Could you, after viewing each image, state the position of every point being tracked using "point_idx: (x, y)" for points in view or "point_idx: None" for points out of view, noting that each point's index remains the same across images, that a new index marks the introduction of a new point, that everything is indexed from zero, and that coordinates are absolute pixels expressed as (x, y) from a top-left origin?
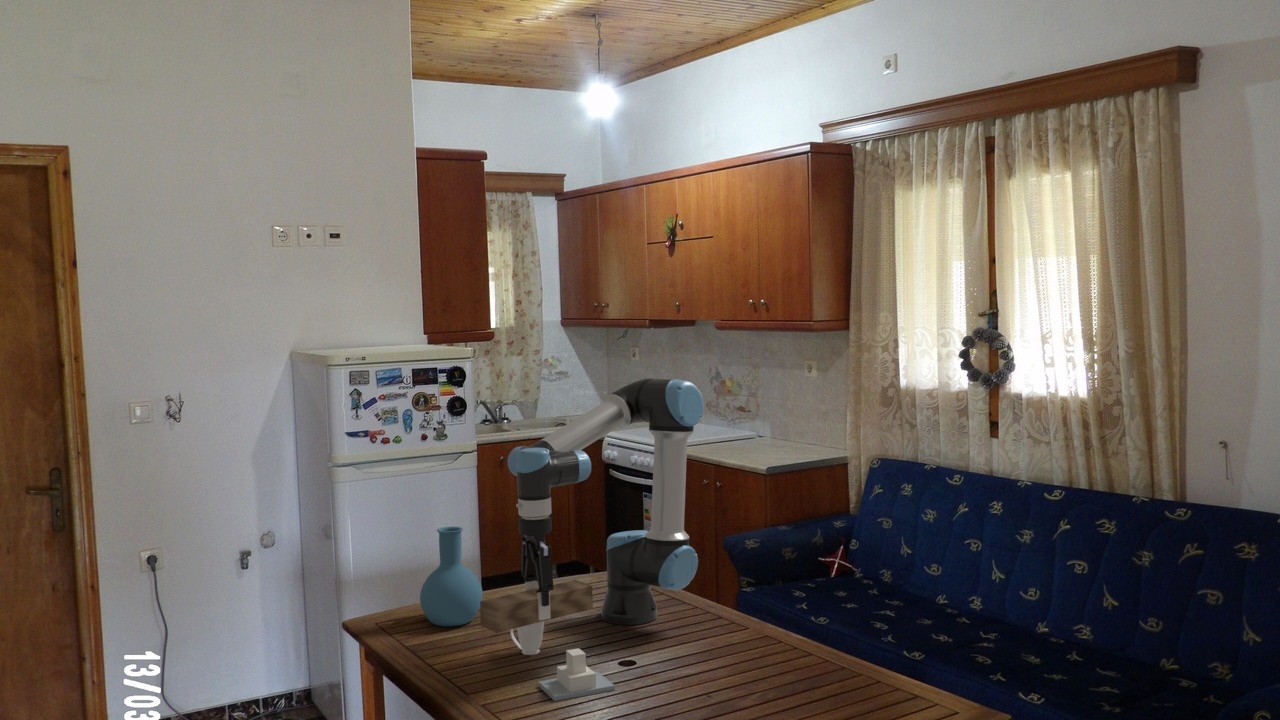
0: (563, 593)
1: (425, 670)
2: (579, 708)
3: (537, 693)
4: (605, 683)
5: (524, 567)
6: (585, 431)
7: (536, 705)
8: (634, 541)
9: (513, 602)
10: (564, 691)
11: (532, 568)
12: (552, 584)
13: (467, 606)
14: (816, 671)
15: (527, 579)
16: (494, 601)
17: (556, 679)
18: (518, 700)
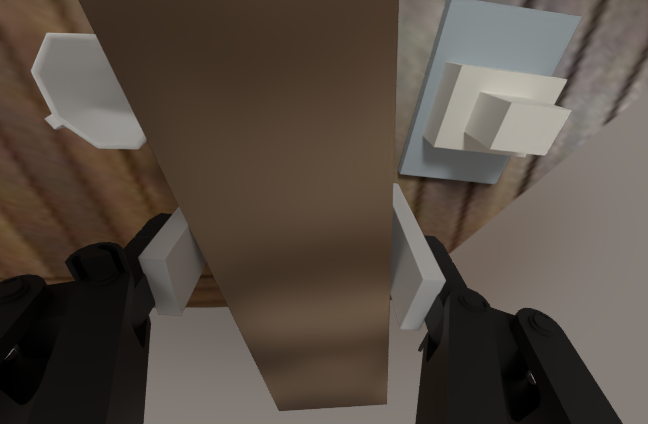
0: (392, 121)
1: (206, 287)
2: (561, 156)
3: (430, 188)
4: (546, 34)
5: (26, 410)
6: None
7: (476, 212)
8: None
9: (368, 364)
10: (491, 154)
11: (126, 407)
12: (574, 357)
13: None
14: None
15: (145, 316)
16: (309, 392)
17: (419, 135)
18: (432, 226)
